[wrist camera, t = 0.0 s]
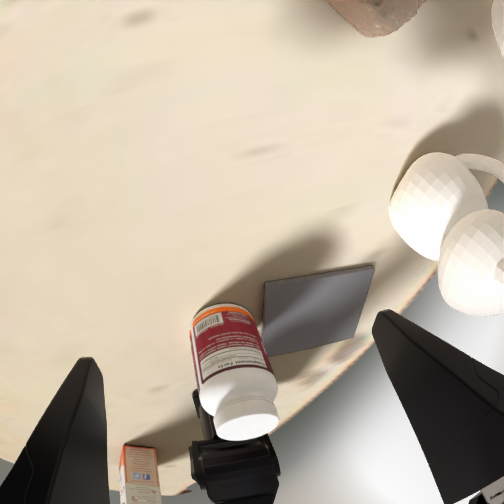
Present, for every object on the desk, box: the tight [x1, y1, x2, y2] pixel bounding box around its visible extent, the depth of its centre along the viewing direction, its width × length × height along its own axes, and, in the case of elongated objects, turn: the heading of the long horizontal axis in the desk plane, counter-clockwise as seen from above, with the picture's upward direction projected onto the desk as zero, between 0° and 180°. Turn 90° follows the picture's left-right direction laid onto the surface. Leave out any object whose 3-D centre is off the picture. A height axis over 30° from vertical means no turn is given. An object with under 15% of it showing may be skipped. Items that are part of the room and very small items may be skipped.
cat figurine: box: [389, 152, 504, 316], centre depth 20 cm, size 9×12×15 cm
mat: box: [262, 265, 375, 357], centre depth 31 cm, size 10×11×1 cm
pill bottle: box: [189, 304, 279, 441], centre depth 24 cm, size 6×6×11 cm
